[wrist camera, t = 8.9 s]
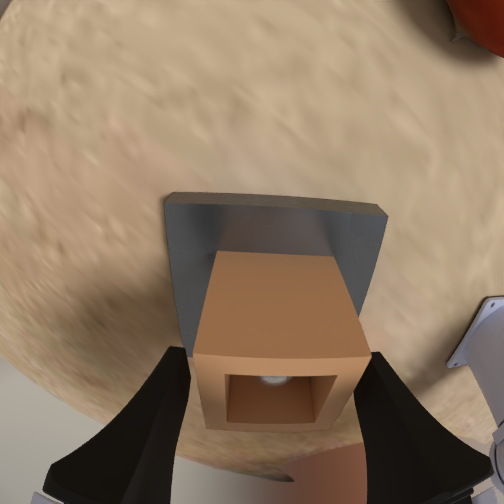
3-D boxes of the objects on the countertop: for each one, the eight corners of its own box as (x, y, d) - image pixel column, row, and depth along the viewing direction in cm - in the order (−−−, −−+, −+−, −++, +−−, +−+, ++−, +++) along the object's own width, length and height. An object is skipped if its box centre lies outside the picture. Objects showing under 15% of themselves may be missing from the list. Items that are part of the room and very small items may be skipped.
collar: (334, 256, 13) (372, 356, 8) (314, 337, 16) (329, 430, 10) (217, 250, 13) (192, 353, 8) (219, 334, 16) (206, 428, 10)
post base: (376, 204, 13) (443, 278, 8) (337, 344, 18) (356, 427, 13) (173, 192, 13) (115, 264, 8) (188, 339, 18) (169, 424, 13)
